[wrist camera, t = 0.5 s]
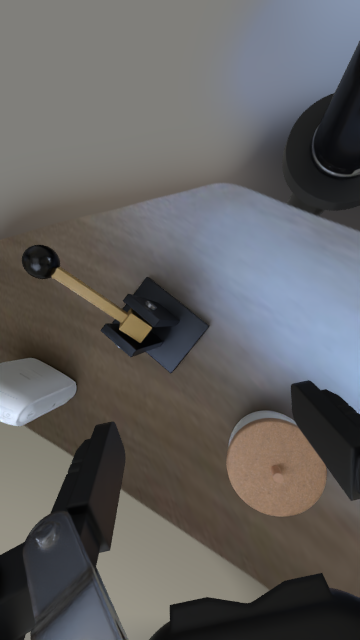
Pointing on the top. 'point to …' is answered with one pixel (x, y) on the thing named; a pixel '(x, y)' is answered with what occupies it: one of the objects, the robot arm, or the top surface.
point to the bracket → (159, 326)
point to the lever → (82, 289)
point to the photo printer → (31, 390)
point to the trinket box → (274, 465)
